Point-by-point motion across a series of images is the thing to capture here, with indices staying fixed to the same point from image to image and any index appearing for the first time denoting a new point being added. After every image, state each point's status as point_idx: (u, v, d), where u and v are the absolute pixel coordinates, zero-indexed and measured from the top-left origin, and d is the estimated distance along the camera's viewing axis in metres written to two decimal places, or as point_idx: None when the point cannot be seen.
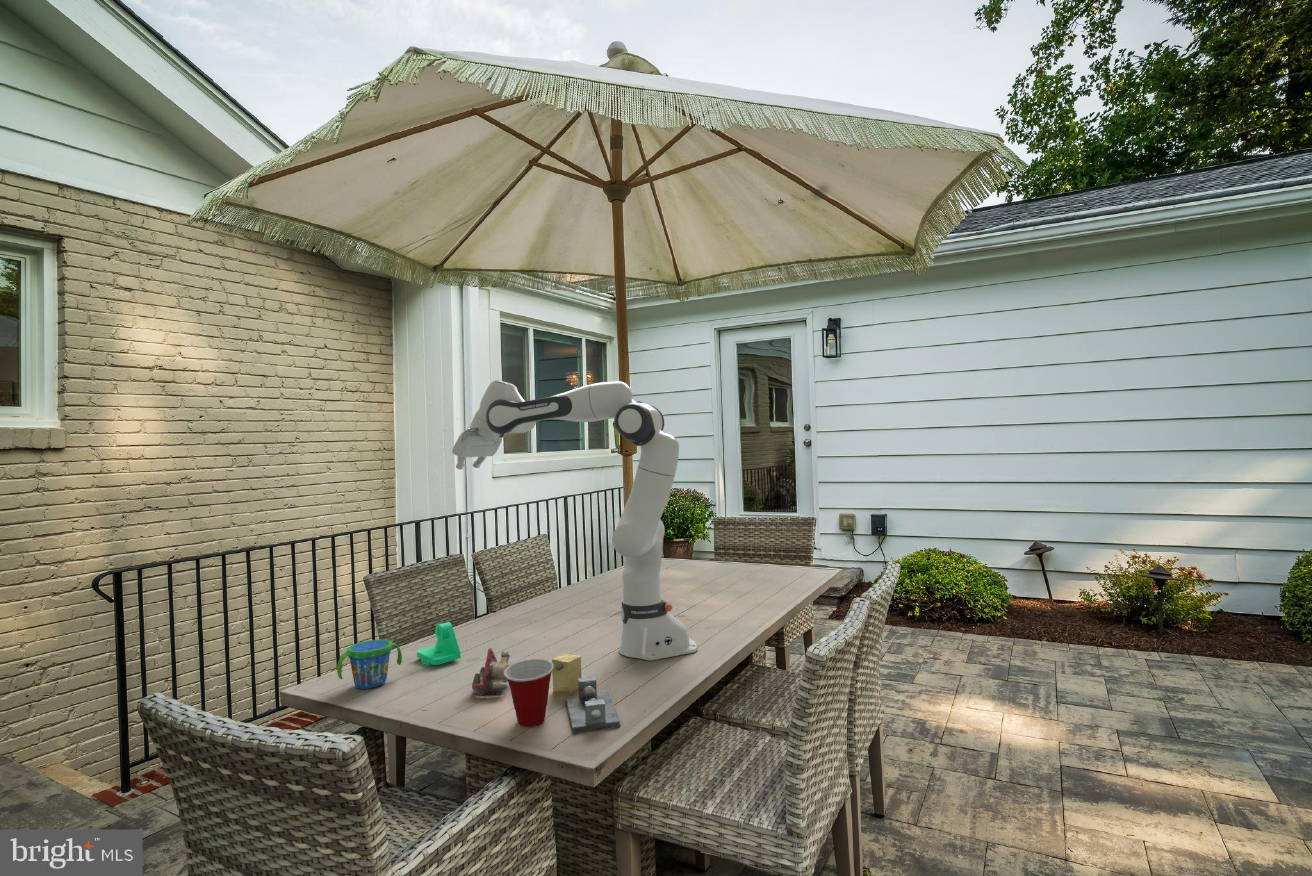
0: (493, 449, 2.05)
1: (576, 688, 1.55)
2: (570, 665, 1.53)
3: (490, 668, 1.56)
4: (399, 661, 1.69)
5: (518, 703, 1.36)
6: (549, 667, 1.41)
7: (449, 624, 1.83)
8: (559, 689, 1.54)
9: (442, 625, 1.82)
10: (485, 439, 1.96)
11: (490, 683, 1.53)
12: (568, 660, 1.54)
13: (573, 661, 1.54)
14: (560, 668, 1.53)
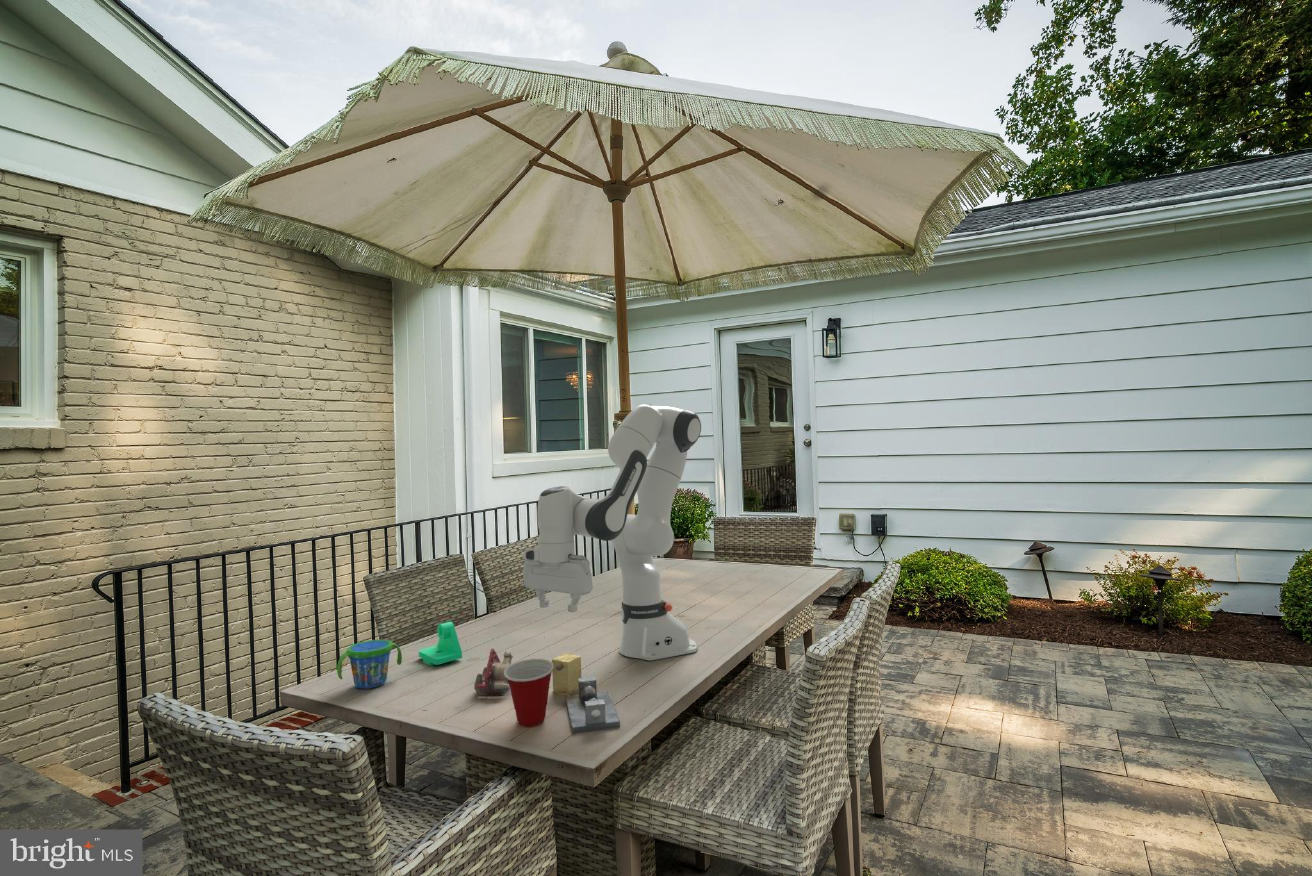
0: None
1: (576, 688, 1.55)
2: (570, 665, 1.53)
3: (492, 669, 1.56)
4: (399, 661, 1.69)
5: (518, 703, 1.36)
6: (549, 667, 1.41)
7: (451, 624, 1.84)
8: (559, 689, 1.54)
9: (444, 625, 1.82)
10: None
11: (492, 684, 1.53)
12: (568, 660, 1.54)
13: (573, 661, 1.54)
14: (560, 668, 1.53)
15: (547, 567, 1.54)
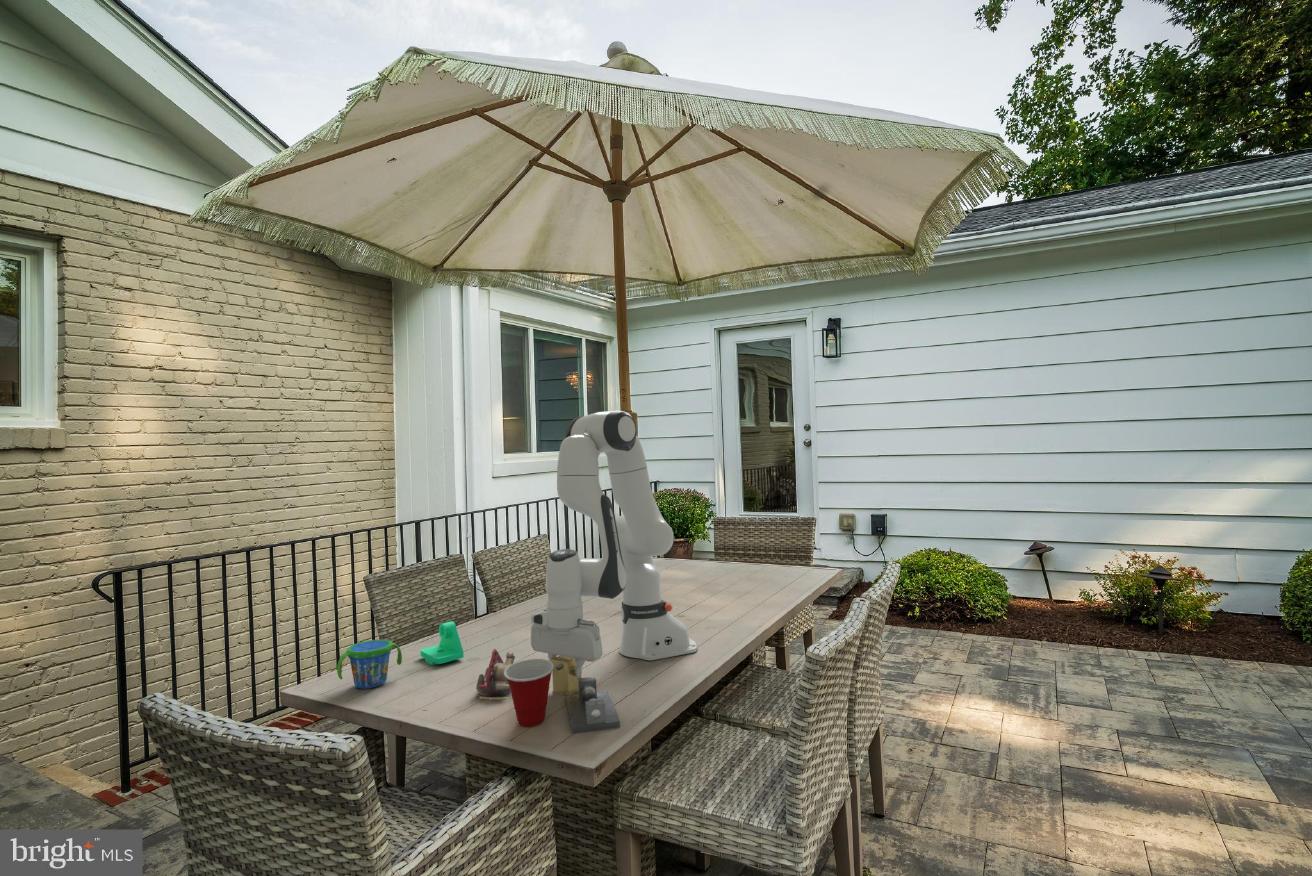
0: None
1: (576, 688, 1.55)
2: (570, 665, 1.53)
3: (494, 669, 1.56)
4: (399, 661, 1.69)
5: (518, 703, 1.36)
6: (549, 667, 1.41)
7: (452, 623, 1.84)
8: (559, 688, 1.54)
9: (445, 624, 1.83)
10: None
11: (493, 684, 1.52)
12: (568, 660, 1.54)
13: (573, 661, 1.54)
14: (560, 668, 1.53)
15: (556, 632, 1.54)
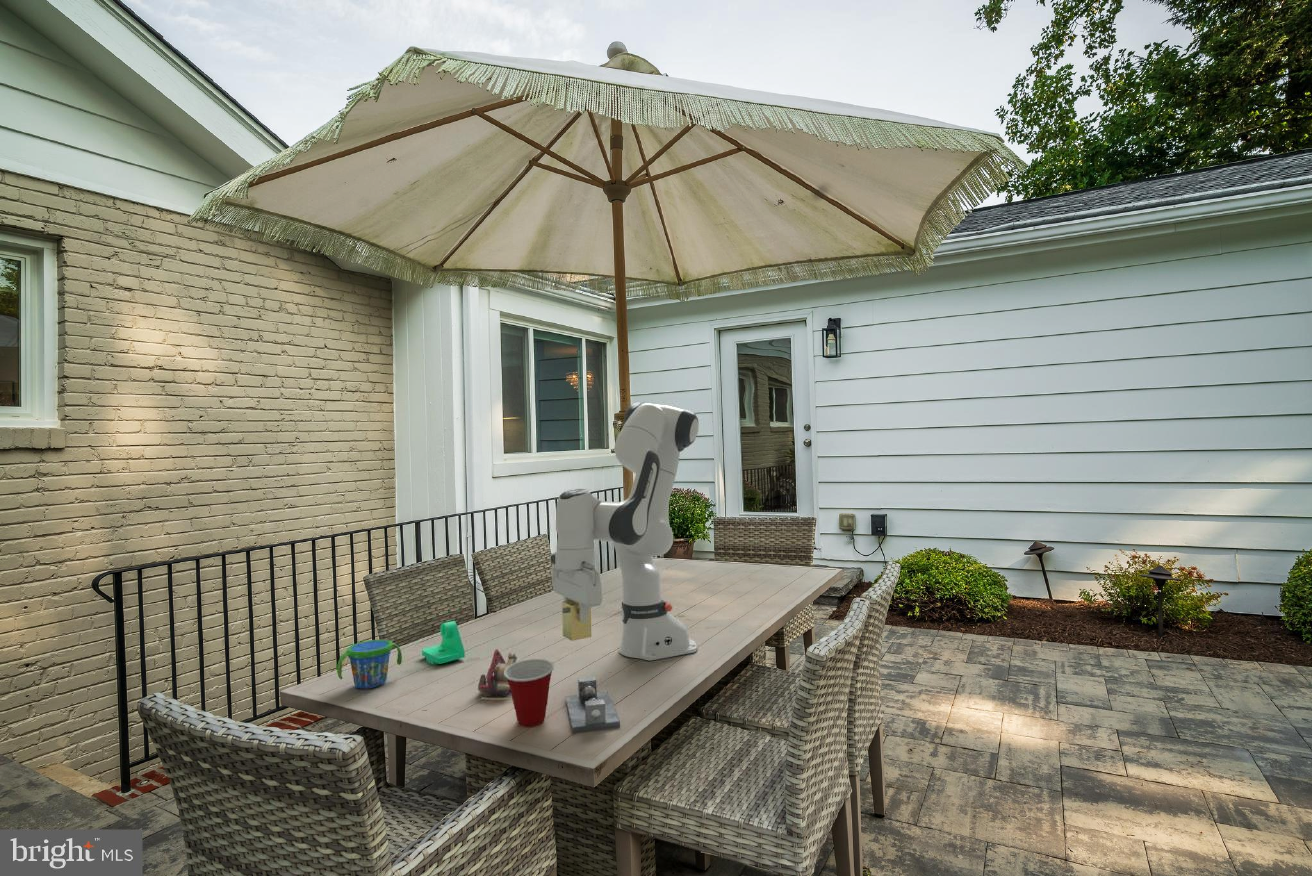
0: None
1: (583, 635, 1.46)
2: (574, 609, 1.45)
3: (496, 670, 1.55)
4: (399, 661, 1.69)
5: (518, 703, 1.36)
6: (549, 667, 1.41)
7: (454, 623, 1.84)
8: (566, 632, 1.47)
9: (447, 624, 1.83)
10: None
11: (495, 685, 1.52)
12: (574, 604, 1.46)
13: None
14: (565, 611, 1.46)
15: (563, 573, 1.47)
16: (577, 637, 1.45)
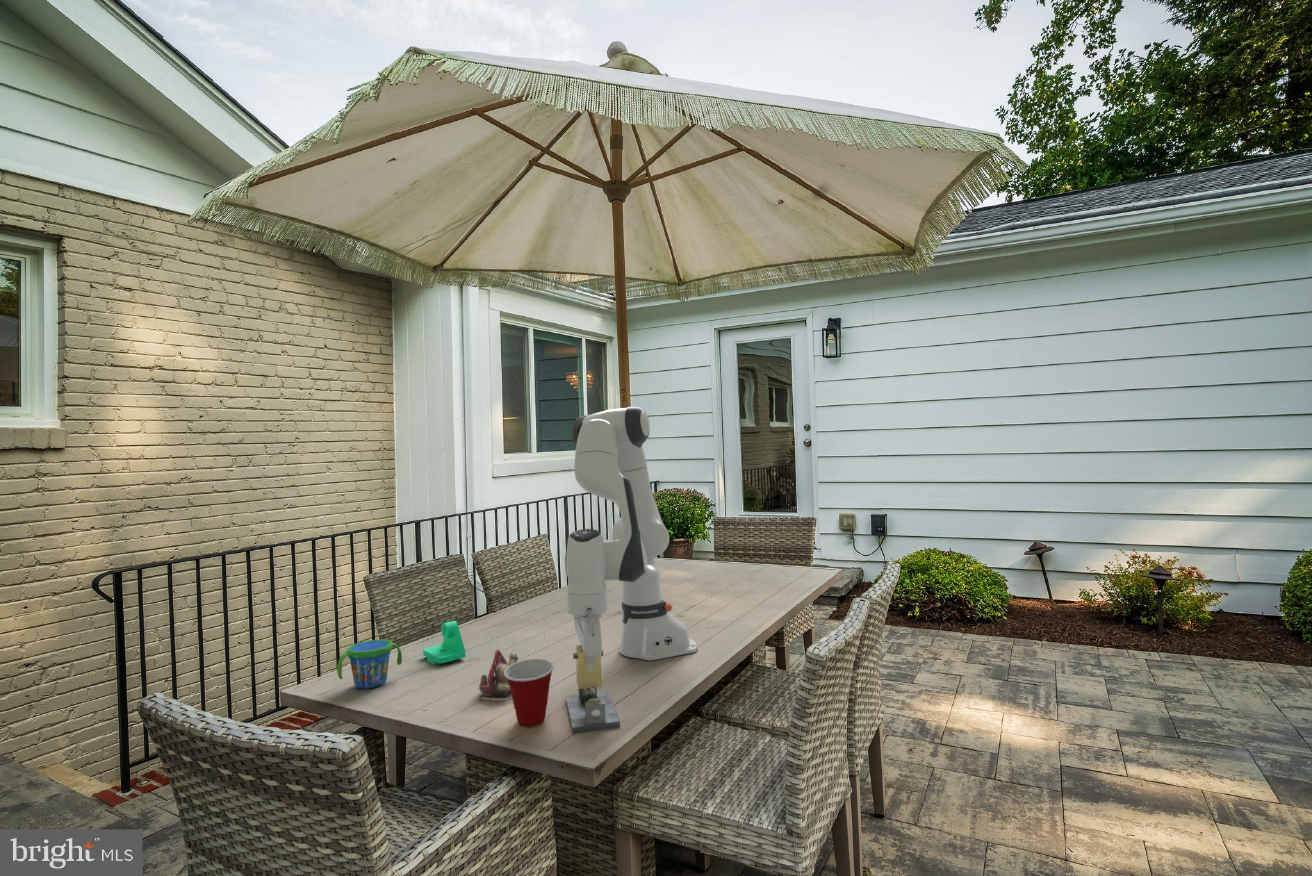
0: None
1: (592, 684, 1.39)
2: (582, 656, 1.39)
3: (497, 670, 1.55)
4: (399, 661, 1.69)
5: (518, 703, 1.36)
6: (549, 667, 1.41)
7: (455, 623, 1.84)
8: (577, 679, 1.42)
9: (448, 624, 1.83)
10: (600, 615, 1.41)
11: (495, 685, 1.52)
12: (582, 651, 1.40)
13: None
14: (574, 657, 1.41)
15: (573, 617, 1.41)
16: (585, 686, 1.39)
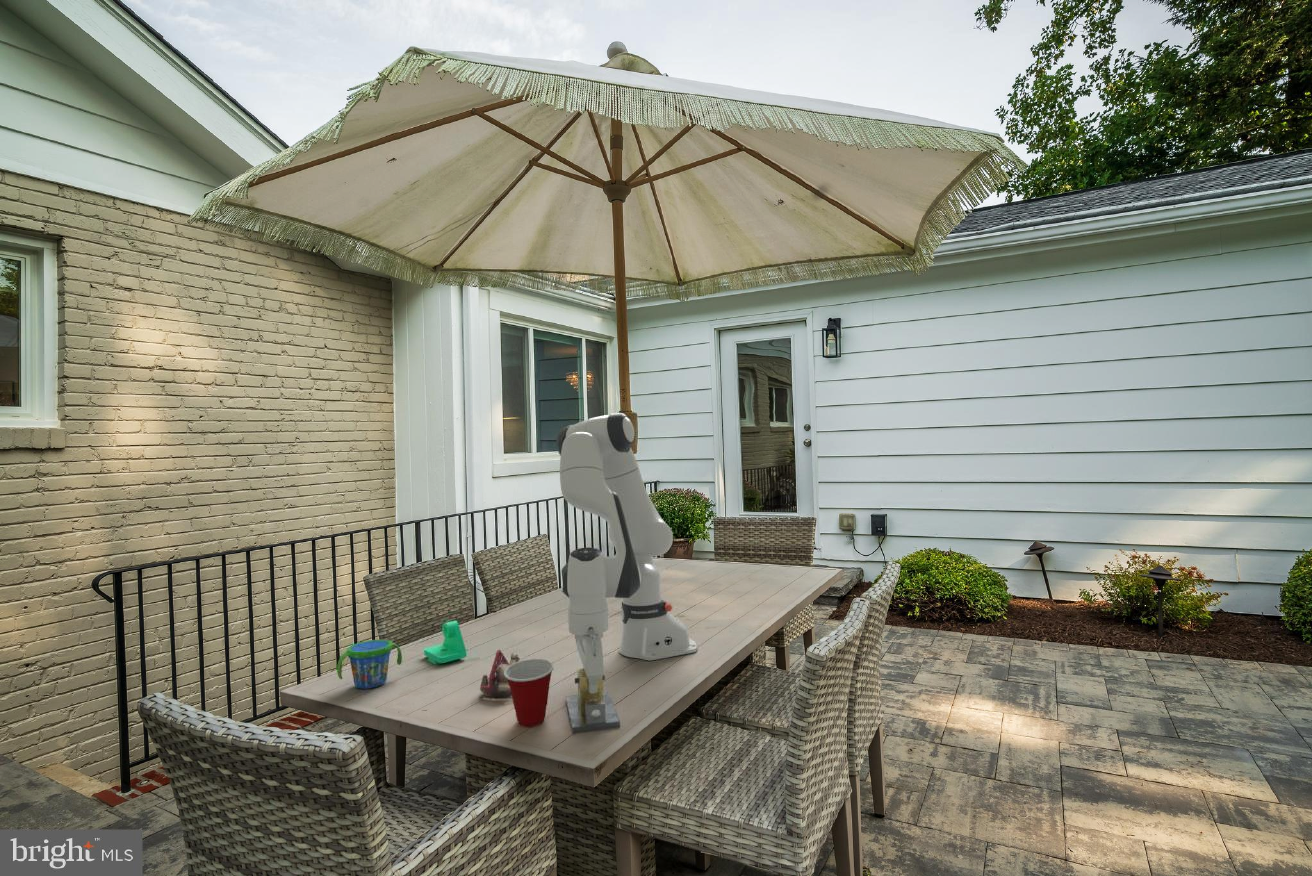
0: None
1: None
2: (584, 681, 1.39)
3: (498, 670, 1.55)
4: (399, 661, 1.69)
5: (518, 703, 1.36)
6: (549, 667, 1.41)
7: (455, 623, 1.84)
8: (579, 703, 1.42)
9: (448, 623, 1.83)
10: (601, 634, 1.41)
11: (496, 686, 1.52)
12: (584, 675, 1.40)
13: None
14: (576, 681, 1.41)
15: None
16: None
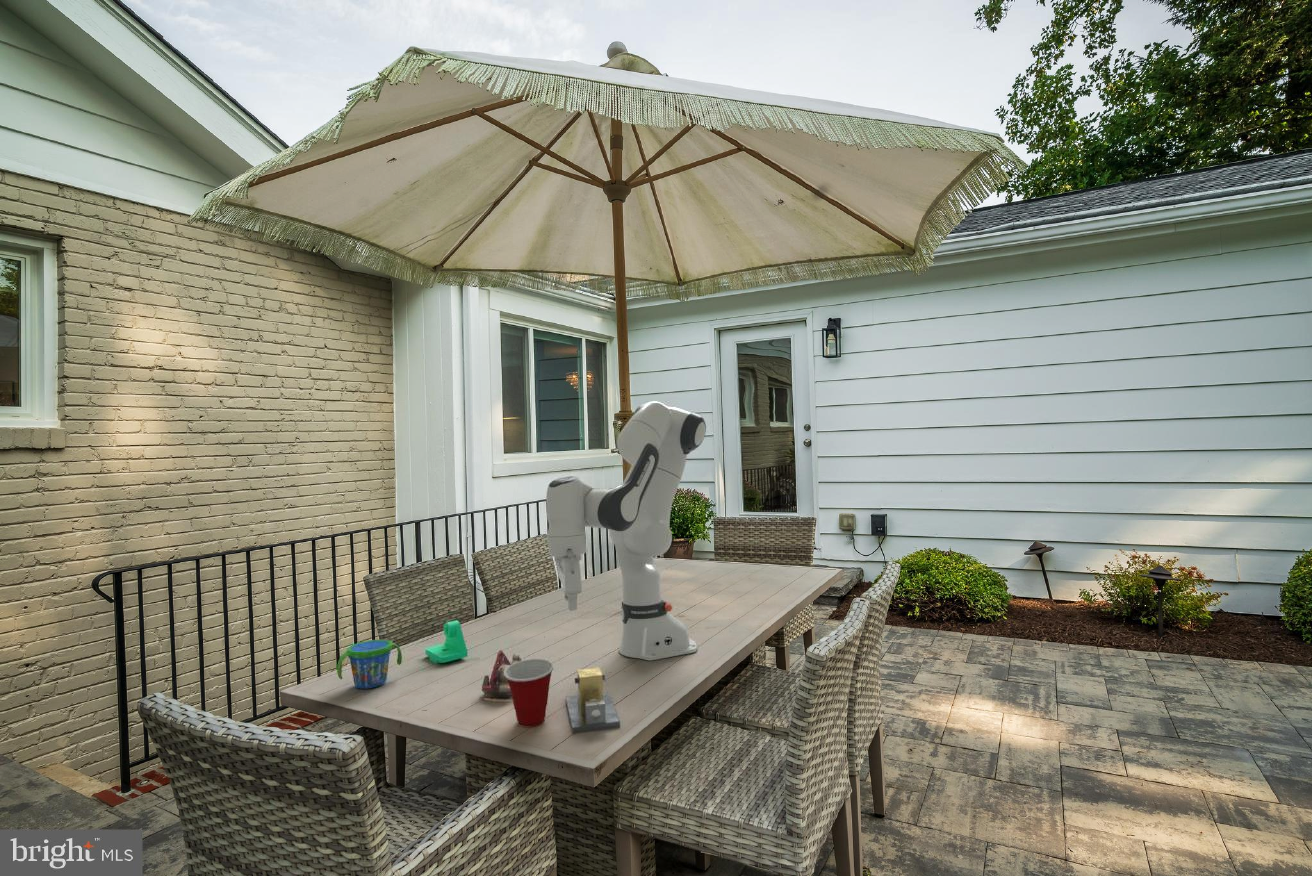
0: None
1: None
2: (584, 681, 1.39)
3: (499, 671, 1.54)
4: (399, 661, 1.69)
5: (518, 703, 1.36)
6: (549, 667, 1.41)
7: (457, 622, 1.85)
8: (579, 703, 1.42)
9: (450, 623, 1.83)
10: (579, 557, 1.49)
11: (497, 686, 1.51)
12: (584, 675, 1.40)
13: (589, 678, 1.39)
14: (576, 681, 1.41)
15: None
16: None
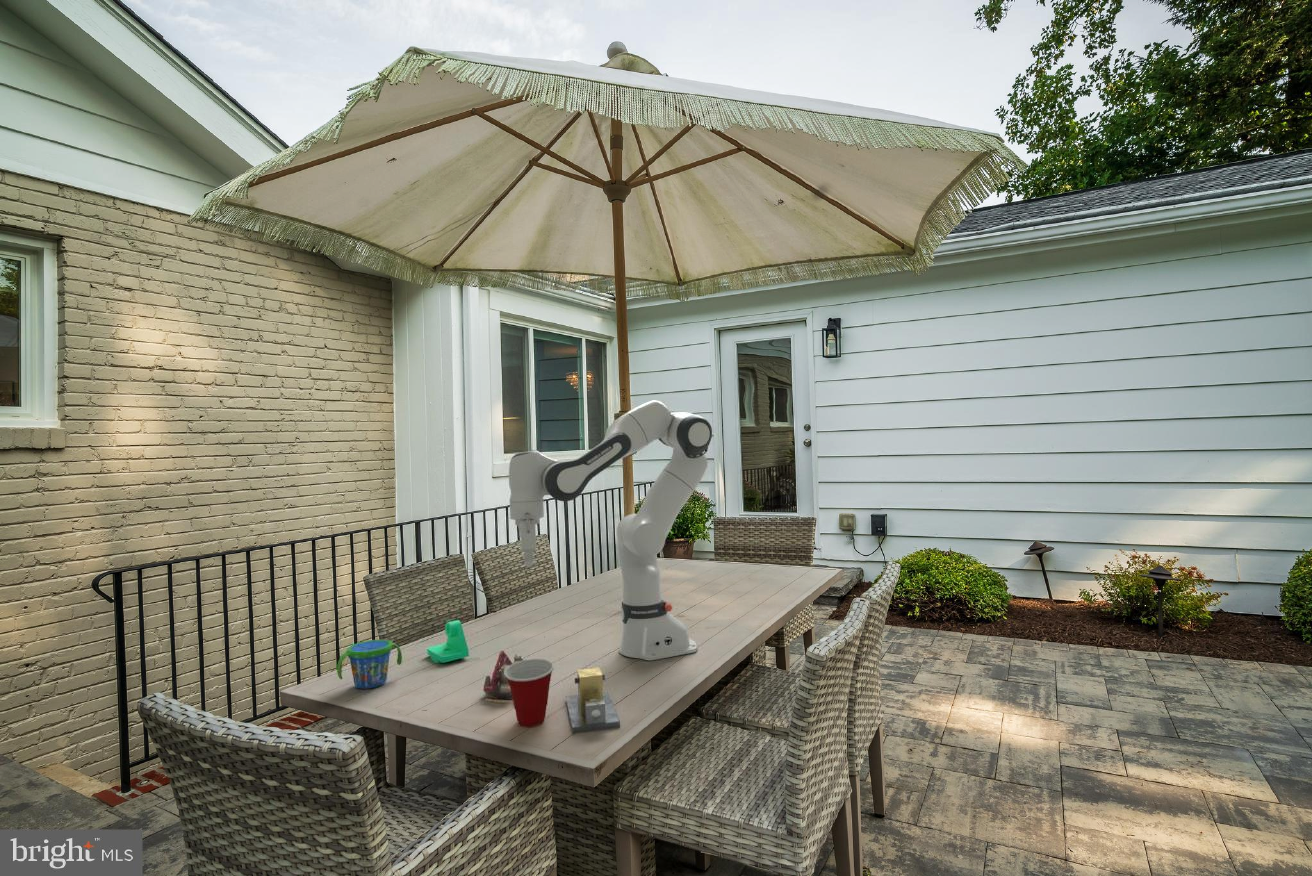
0: None
1: None
2: (584, 681, 1.39)
3: (501, 671, 1.54)
4: (399, 661, 1.69)
5: (518, 703, 1.36)
6: (549, 667, 1.41)
7: (458, 622, 1.85)
8: (579, 703, 1.42)
9: (451, 623, 1.84)
10: (537, 521, 1.68)
11: (498, 687, 1.51)
12: (584, 675, 1.40)
13: (589, 678, 1.39)
14: (576, 681, 1.41)
15: (515, 523, 1.69)
16: None
